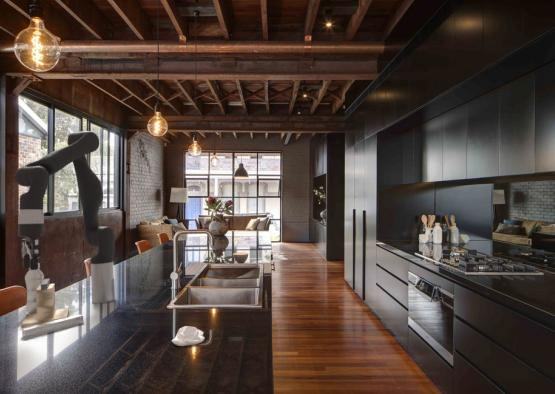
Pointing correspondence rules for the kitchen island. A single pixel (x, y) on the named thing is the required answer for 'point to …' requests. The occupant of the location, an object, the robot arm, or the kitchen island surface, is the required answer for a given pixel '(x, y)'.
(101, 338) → the kitchen island surface
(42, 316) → the balance stand
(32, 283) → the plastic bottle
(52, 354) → the kitchen island surface
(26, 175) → the robot arm
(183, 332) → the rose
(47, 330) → the aluminium bar
